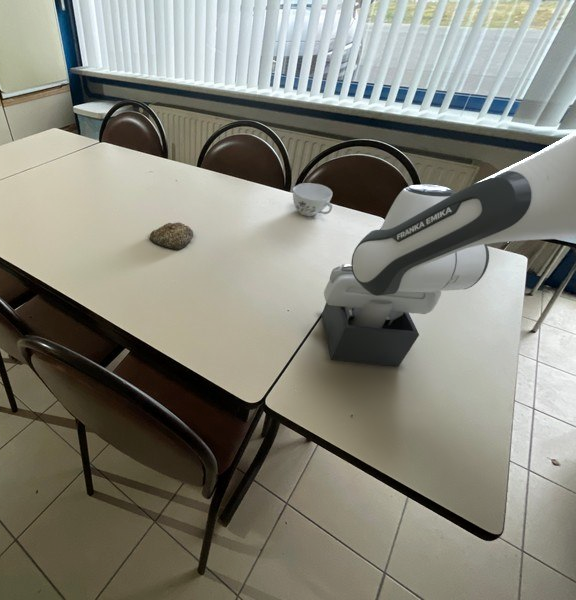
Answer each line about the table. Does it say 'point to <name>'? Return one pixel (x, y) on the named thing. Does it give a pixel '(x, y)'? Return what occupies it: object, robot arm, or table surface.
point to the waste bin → (368, 339)
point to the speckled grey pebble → (172, 235)
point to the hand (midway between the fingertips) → (366, 321)
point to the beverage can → (371, 314)
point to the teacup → (312, 198)
